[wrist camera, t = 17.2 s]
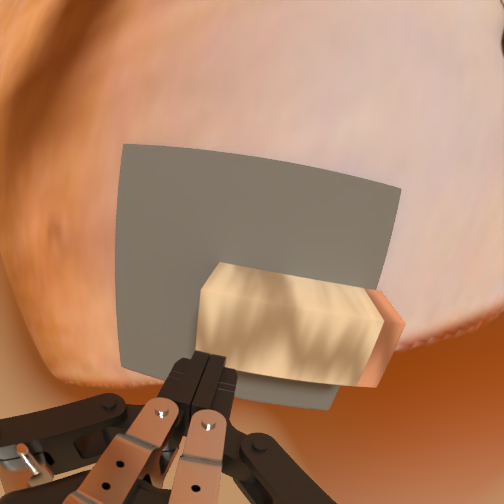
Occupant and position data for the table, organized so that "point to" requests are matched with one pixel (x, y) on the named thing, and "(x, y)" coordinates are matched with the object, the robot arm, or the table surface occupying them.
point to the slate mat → (234, 246)
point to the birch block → (297, 326)
